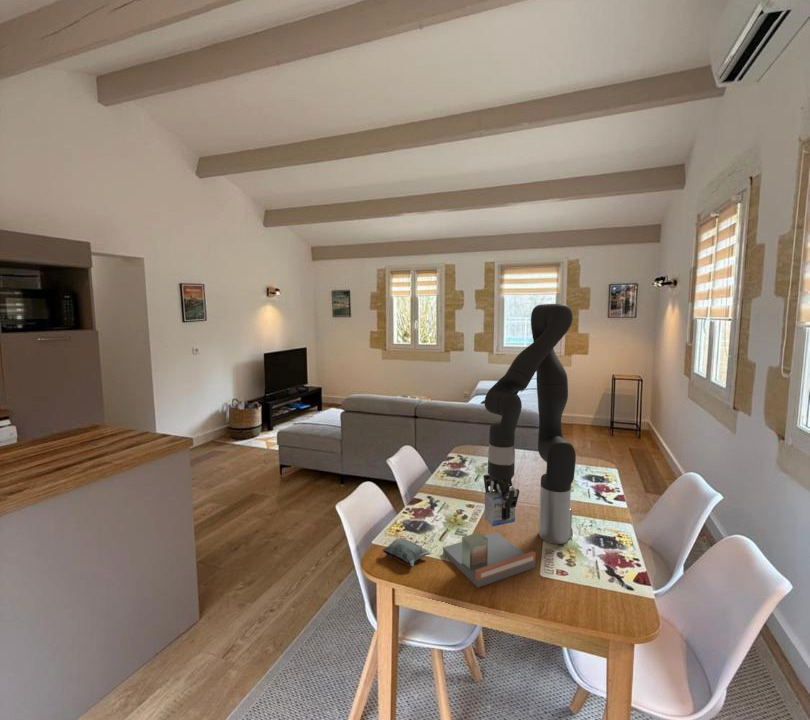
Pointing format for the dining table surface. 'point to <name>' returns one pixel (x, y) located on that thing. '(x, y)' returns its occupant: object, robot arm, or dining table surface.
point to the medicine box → (496, 510)
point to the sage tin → (474, 551)
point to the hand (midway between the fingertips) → (499, 514)
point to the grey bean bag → (405, 551)
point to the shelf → (493, 560)
